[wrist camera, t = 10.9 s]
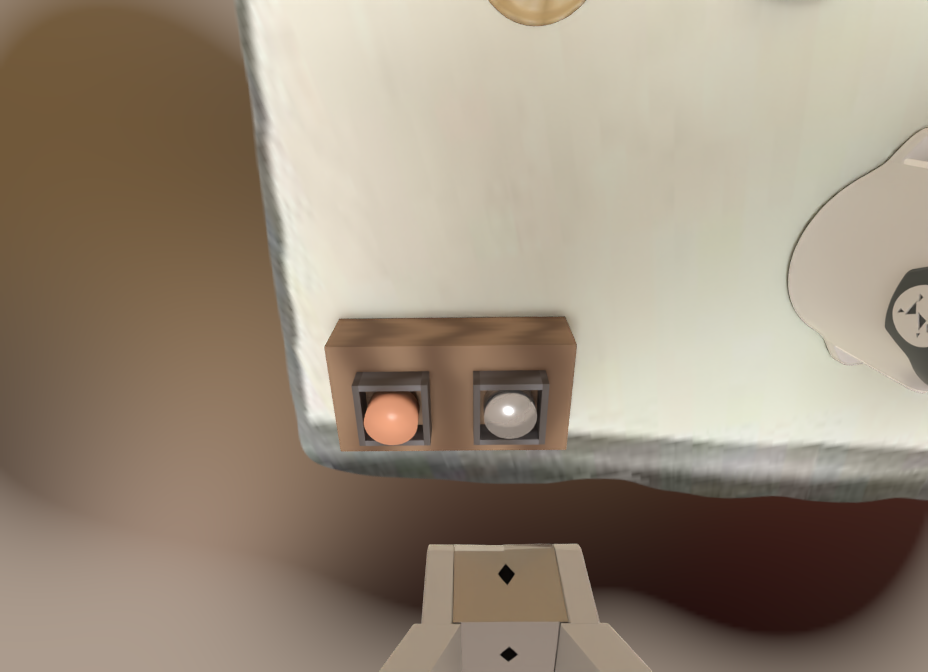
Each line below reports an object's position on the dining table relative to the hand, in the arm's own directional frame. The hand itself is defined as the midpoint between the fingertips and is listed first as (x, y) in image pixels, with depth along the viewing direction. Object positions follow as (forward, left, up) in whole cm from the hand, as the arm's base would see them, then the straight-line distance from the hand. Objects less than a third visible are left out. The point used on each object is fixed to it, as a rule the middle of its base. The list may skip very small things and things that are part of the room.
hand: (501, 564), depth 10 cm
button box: (+2, +14, -31) cm, 34 cm away
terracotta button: (+6, +14, -25) cm, 30 cm away
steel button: (-3, +14, -26) cm, 30 cm away
